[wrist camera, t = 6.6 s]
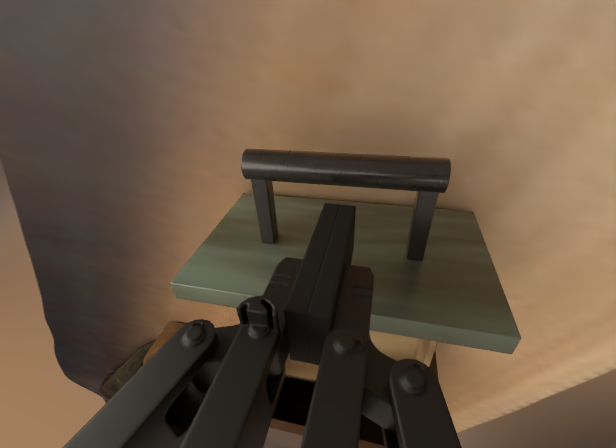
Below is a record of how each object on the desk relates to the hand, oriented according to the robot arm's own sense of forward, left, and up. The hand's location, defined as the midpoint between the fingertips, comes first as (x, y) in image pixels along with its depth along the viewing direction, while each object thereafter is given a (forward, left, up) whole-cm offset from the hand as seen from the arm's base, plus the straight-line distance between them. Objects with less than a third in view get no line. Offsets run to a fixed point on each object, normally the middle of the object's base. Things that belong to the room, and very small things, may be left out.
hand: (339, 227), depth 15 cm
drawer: (+6, +6, -7) cm, 11 cm away
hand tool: (+48, +1, -8) cm, 48 cm away
